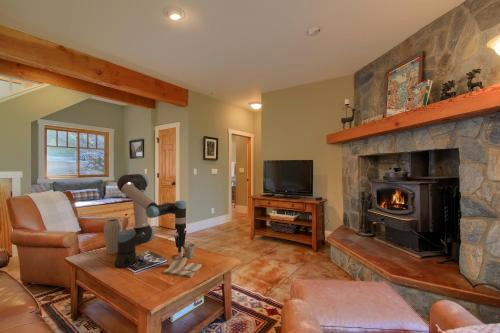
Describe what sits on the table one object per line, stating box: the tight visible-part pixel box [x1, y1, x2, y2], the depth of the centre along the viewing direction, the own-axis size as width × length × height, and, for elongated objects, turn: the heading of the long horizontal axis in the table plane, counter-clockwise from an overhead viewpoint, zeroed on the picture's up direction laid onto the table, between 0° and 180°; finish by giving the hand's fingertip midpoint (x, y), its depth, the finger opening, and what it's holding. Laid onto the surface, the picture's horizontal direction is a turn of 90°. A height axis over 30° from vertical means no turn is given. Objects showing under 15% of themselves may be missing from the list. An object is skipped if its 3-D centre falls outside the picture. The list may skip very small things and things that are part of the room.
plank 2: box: [182, 262, 203, 274], centre depth 163 cm, size 10×9×2 cm
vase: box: [103, 218, 123, 255], centre depth 191 cm, size 13×13×26 cm
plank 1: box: [168, 256, 188, 270], centre depth 165 cm, size 10×9×2 cm
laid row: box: [162, 267, 196, 279], centre depth 161 cm, size 22×17×2 cm
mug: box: [183, 243, 196, 260], centre depth 183 cm, size 8×13×10 cm, turn 78°
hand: (180, 256), depth 167 cm, fingers closed
